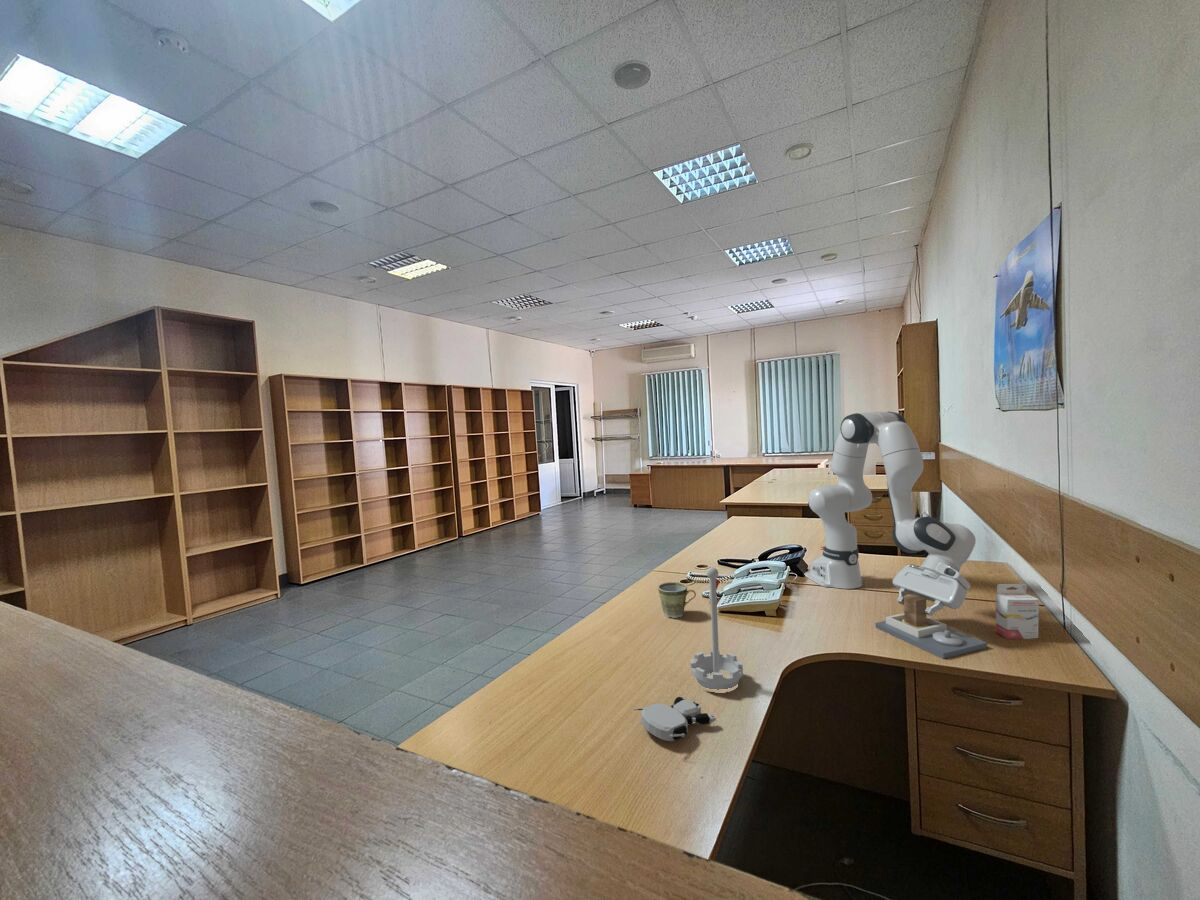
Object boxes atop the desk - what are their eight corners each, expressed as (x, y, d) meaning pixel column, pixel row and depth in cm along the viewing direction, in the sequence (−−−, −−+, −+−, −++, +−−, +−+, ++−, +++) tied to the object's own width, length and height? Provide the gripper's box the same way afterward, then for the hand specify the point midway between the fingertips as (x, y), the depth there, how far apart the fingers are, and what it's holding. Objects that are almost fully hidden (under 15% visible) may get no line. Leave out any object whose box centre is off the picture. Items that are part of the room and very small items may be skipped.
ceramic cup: (656, 619, 169) (654, 590, 168) (663, 608, 178) (662, 581, 177) (693, 623, 164) (692, 593, 163) (699, 611, 173) (698, 583, 172)
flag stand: (734, 701, 118) (729, 578, 116) (683, 688, 125) (678, 571, 123) (749, 675, 129) (745, 563, 127) (701, 665, 136) (697, 558, 134)
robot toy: (680, 707, 118) (631, 726, 110) (681, 688, 118) (631, 706, 110) (719, 732, 108) (668, 755, 100) (719, 711, 108) (668, 733, 100)
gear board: (875, 627, 153) (875, 614, 153) (915, 618, 158) (914, 605, 158) (943, 659, 132) (943, 643, 132) (986, 648, 137) (986, 632, 137)
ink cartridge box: (1007, 639, 141) (1007, 589, 140) (995, 632, 146) (994, 583, 145) (1039, 639, 140) (1039, 588, 139) (1026, 632, 145) (1026, 582, 144)
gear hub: (896, 624, 151) (895, 595, 151) (913, 620, 153) (913, 592, 153) (917, 633, 144) (916, 603, 144) (935, 629, 147) (934, 599, 146)
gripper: (902, 557, 160) (878, 591, 157) (965, 575, 140) (939, 614, 138) (912, 568, 161) (890, 602, 159) (976, 588, 142) (951, 627, 139)
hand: (913, 608), depth 148 cm, fingers open, 8 cm apart
